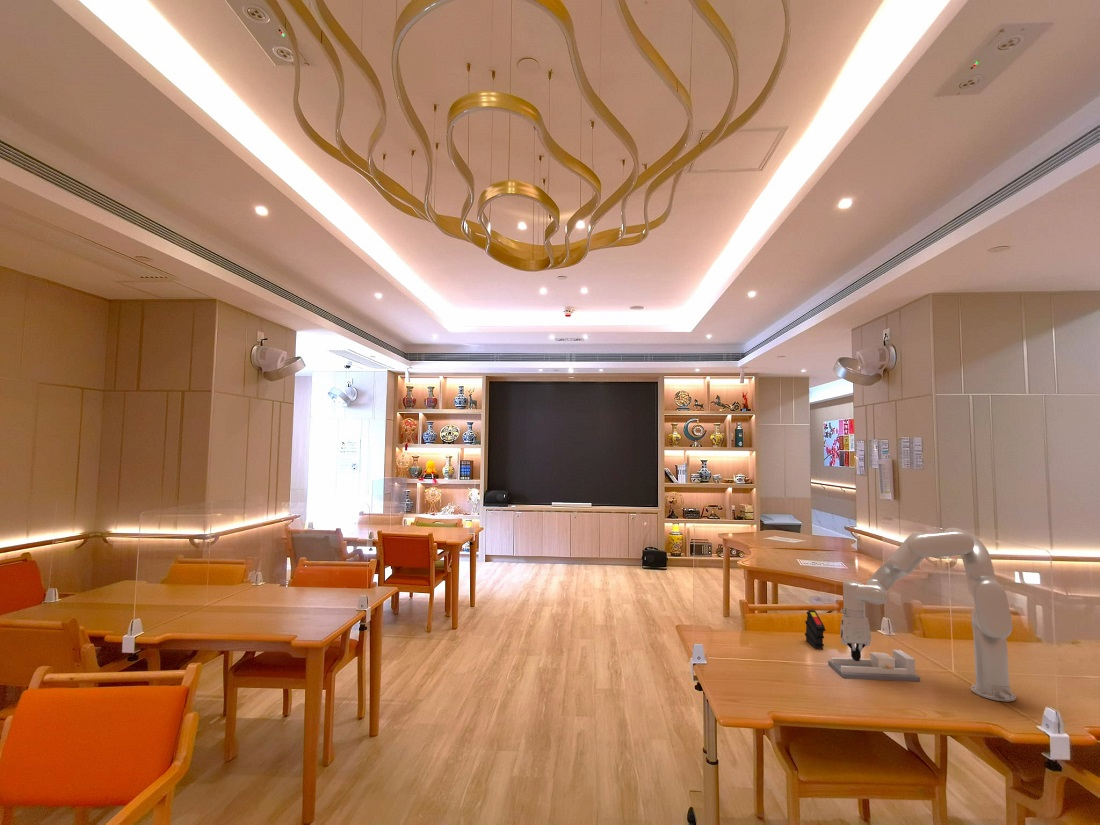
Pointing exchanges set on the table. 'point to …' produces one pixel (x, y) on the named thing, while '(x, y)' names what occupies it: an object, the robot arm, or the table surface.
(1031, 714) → the table surface
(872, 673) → the board
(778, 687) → the table surface
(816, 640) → the black ridged block
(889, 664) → the block
